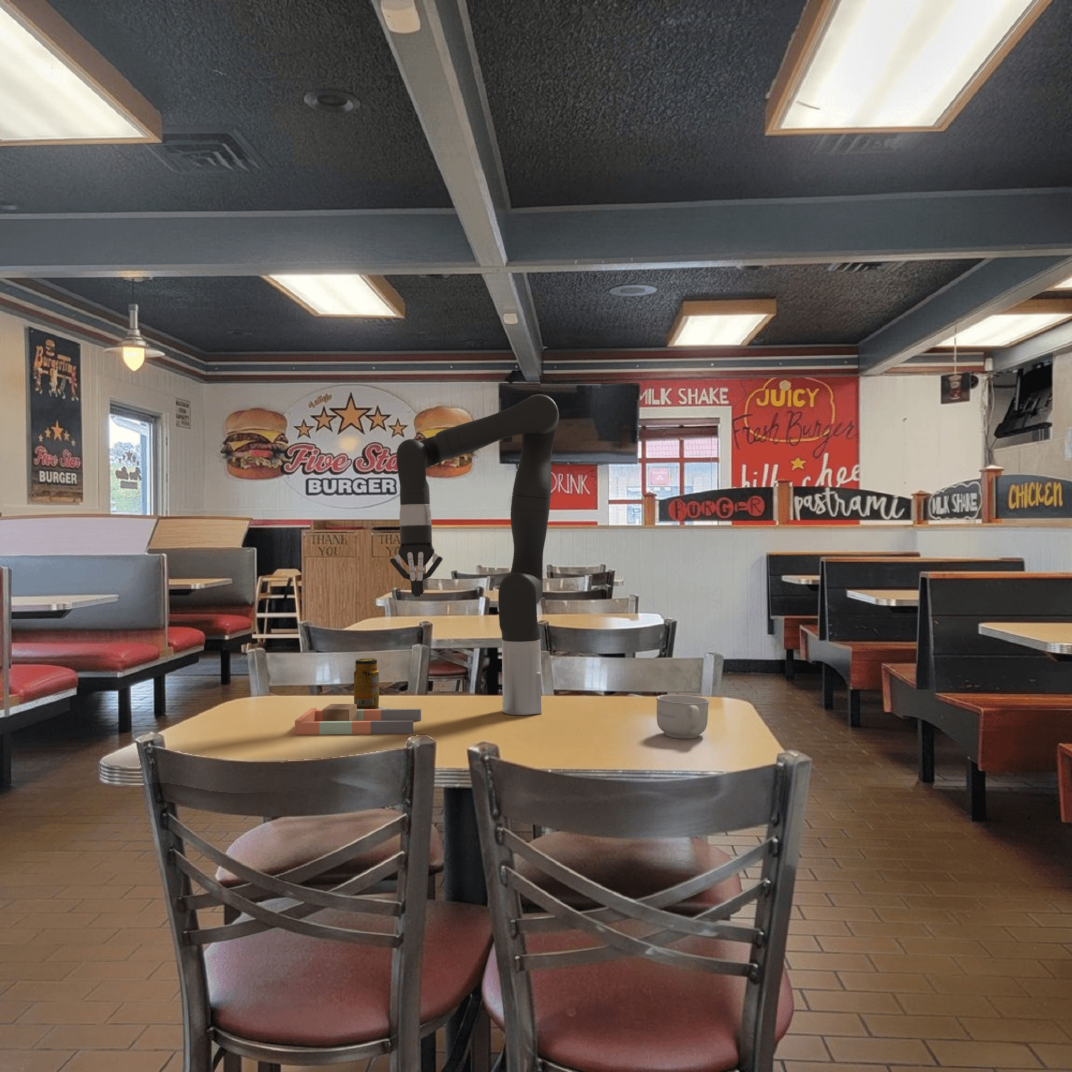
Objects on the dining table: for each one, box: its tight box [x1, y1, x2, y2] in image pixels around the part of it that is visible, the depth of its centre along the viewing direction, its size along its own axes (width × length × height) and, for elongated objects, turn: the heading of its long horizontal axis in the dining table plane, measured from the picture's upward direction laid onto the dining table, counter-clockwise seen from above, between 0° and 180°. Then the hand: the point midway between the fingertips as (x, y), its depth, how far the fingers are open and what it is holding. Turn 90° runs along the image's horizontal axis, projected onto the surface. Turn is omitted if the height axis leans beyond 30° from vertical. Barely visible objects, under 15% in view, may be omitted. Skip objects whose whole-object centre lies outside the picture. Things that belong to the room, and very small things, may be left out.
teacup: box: [655, 694, 710, 740], centre depth 176 cm, size 14×11×8 cm
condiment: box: [353, 657, 390, 709], centre depth 209 cm, size 7×8×12 cm
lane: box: [294, 707, 422, 736], centre depth 189 cm, size 25×13×3 cm, turn 90°
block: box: [321, 703, 357, 721], centre depth 191 cm, size 6×6×4 cm
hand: (417, 596), depth 203 cm, fingers closed
